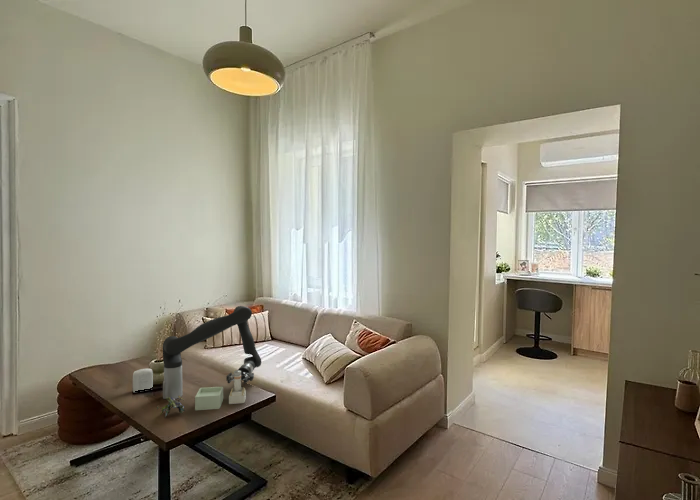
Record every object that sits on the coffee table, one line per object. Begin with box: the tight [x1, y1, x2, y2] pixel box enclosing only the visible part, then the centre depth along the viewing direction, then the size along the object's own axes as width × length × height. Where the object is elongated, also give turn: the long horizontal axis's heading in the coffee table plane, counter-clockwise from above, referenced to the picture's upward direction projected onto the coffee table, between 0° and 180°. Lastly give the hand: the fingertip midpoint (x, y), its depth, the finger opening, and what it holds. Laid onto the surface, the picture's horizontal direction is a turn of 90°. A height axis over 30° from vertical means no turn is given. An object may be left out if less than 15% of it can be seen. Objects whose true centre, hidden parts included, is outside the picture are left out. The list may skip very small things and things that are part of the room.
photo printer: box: [132, 368, 154, 393], centre depth 221 cm, size 10×4×12 cm, turn 123°
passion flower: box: [156, 396, 186, 418], centre depth 190 cm, size 11×11×12 cm
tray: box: [194, 386, 224, 411], centre depth 203 cm, size 12×12×7 cm
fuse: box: [233, 369, 242, 392], centre depth 208 cm, size 4×4×12 cm
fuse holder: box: [228, 386, 247, 405], centre depth 208 cm, size 8×8×6 cm
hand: (236, 381), depth 206 cm, fingers open, 8 cm apart
